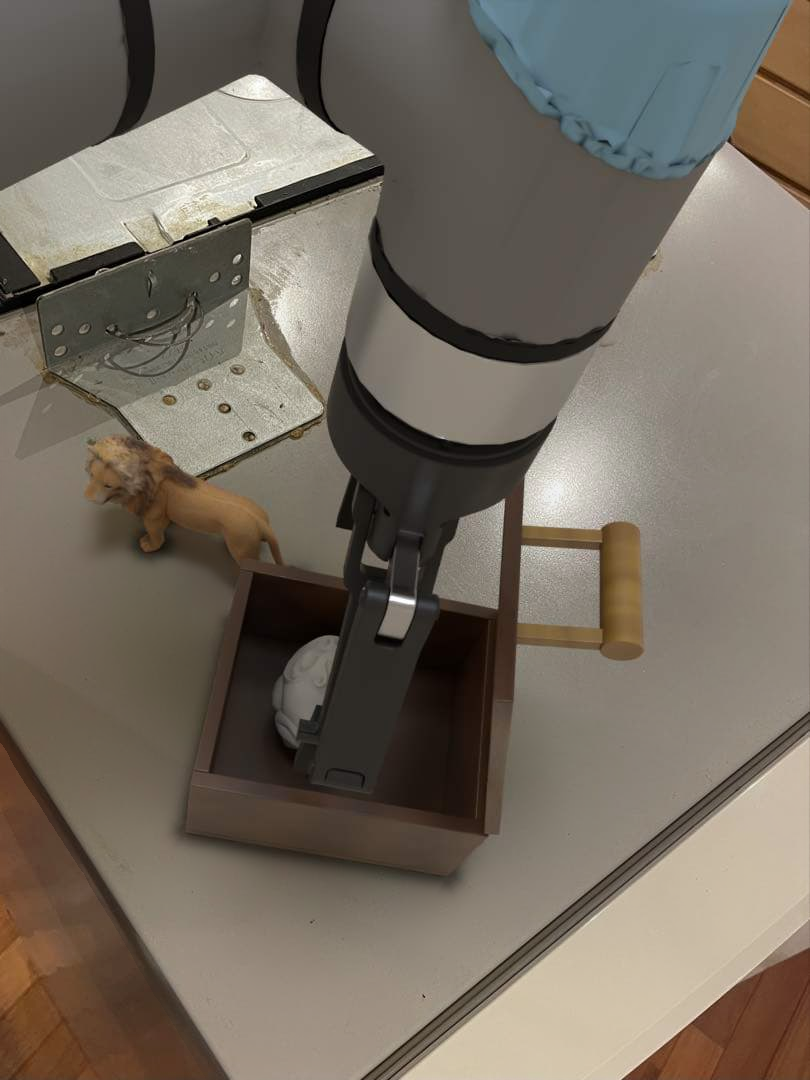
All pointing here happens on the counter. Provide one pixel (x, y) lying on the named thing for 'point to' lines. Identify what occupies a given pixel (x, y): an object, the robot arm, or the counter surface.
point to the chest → (411, 759)
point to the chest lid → (612, 638)
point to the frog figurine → (302, 686)
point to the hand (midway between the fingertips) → (342, 639)
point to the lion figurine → (173, 497)
